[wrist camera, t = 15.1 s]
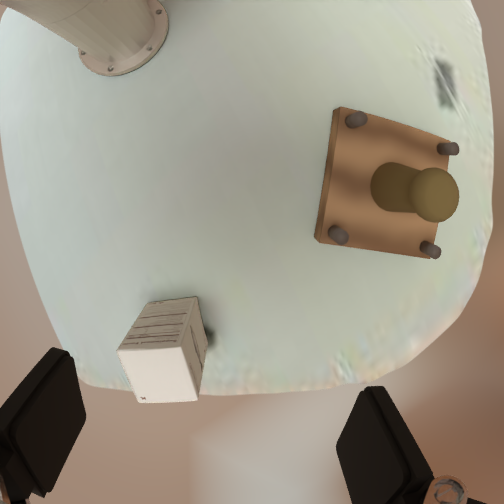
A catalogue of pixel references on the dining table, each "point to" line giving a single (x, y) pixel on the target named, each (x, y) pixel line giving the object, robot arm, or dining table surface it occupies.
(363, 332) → the dining table surface
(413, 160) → the shelf board
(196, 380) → the supplement box
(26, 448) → the robot arm
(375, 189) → the brown rounded piece
